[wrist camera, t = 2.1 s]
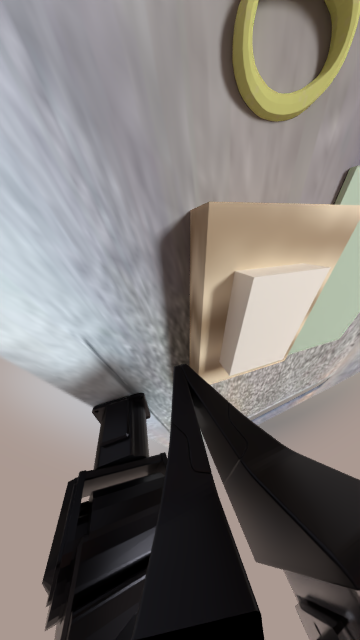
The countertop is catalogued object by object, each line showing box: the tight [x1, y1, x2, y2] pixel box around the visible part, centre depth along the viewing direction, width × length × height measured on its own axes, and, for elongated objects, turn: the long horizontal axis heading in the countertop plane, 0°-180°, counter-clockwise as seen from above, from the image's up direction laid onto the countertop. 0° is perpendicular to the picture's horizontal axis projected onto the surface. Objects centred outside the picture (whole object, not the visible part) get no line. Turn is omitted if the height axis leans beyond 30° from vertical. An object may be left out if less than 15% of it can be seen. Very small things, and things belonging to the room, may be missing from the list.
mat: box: [288, 166, 360, 355], centre depth 20 cm, size 24×18×1 cm
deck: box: [189, 202, 360, 385], centre depth 15 cm, size 18×14×3 cm
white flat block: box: [219, 263, 331, 376], centre depth 13 cm, size 10×7×2 cm
